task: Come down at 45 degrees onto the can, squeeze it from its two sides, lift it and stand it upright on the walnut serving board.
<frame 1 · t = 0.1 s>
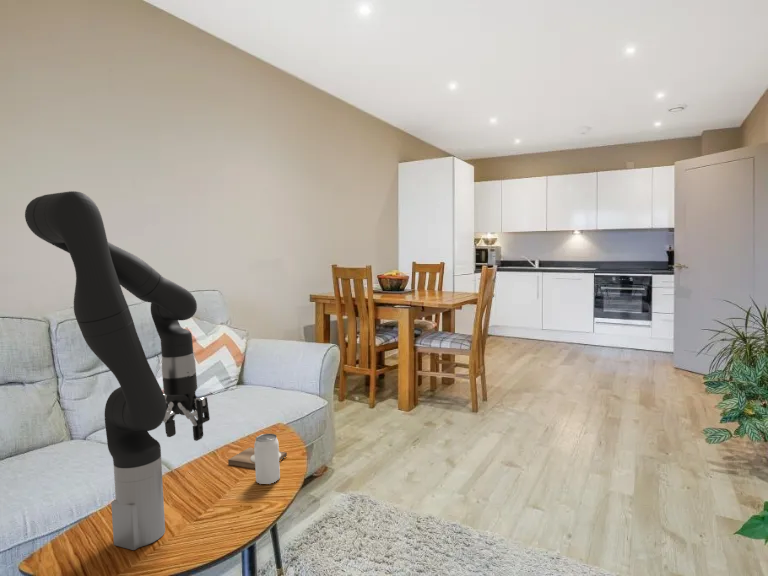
hand: (184, 437, 114), 17 cm above the table, tool pointing down, fingers open, 8 cm apart
board: (258, 460, 142), on the table
can: (268, 480, 128), on the table
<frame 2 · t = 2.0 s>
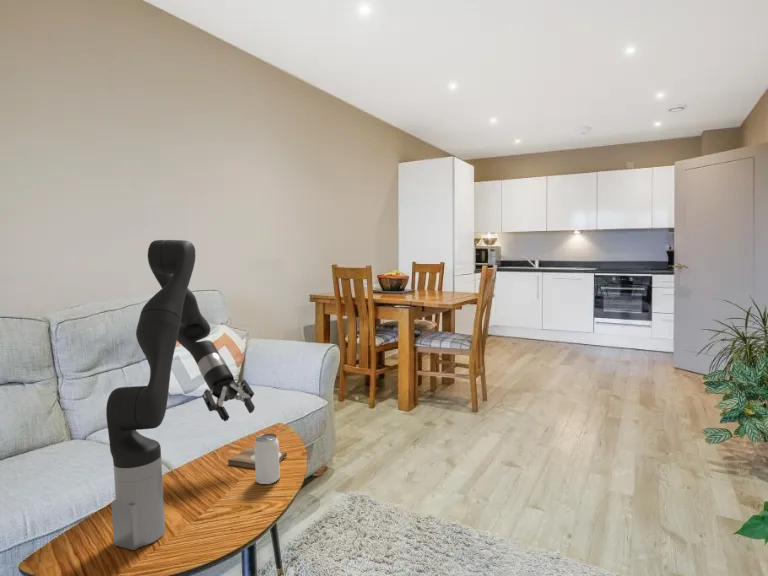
hand: (240, 415, 135), 16 cm above the table, tool tilted 45°, fingers open, 8 cm apart
nothing on the table moved.
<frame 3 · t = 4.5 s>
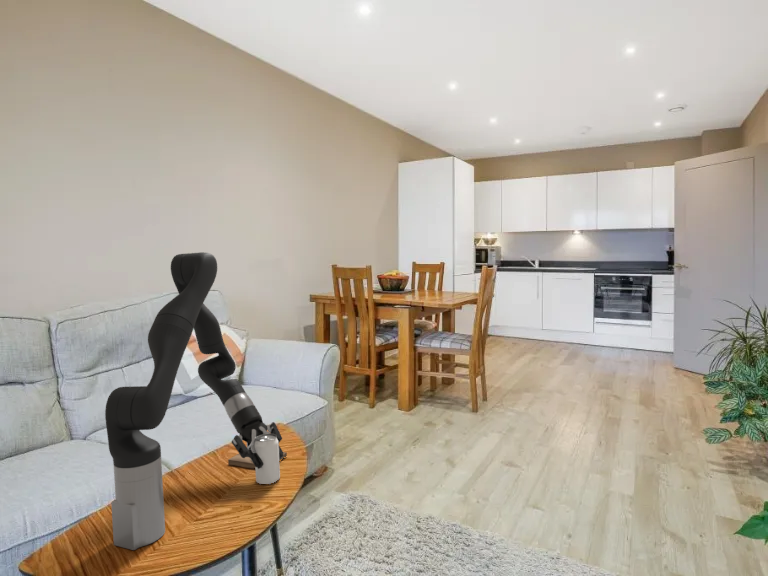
hand: (271, 462, 127), 5 cm above the table, tool tilted 45°, fingers closed on can, 6 cm apart
can: (268, 480, 128), on the table, touching gripper
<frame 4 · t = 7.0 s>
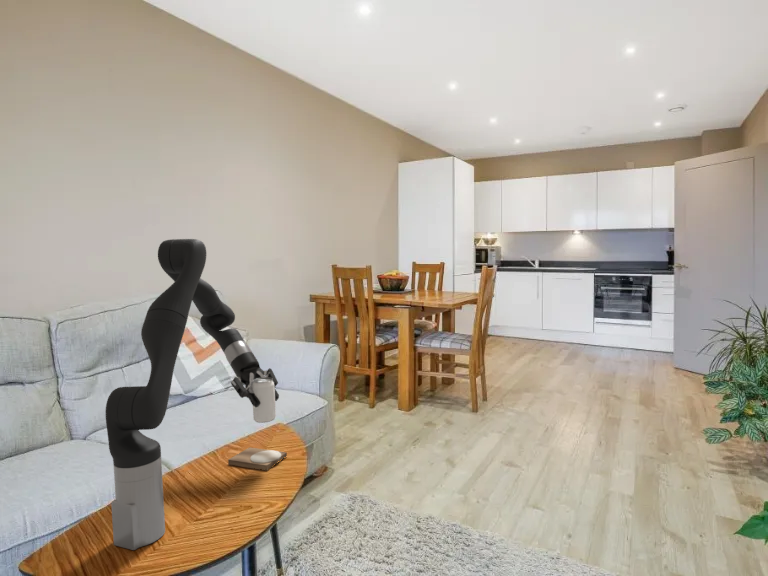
hand: (267, 402, 138), 19 cm above the table, tool tilted 45°, fingers closed on can, 6 cm apart
can: (264, 419, 139), point 13 cm above the table, touching gripper
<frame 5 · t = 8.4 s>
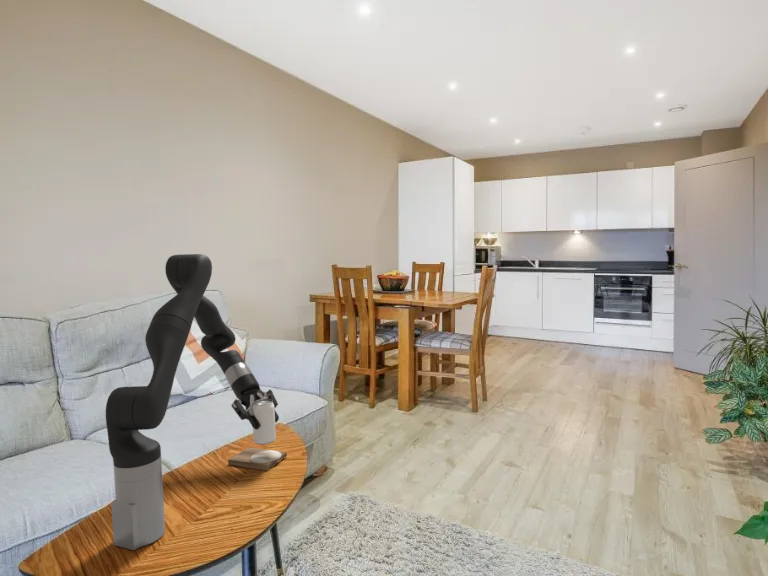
hand: (267, 424, 139), 12 cm above the table, tool tilted 45°, fingers closed on can, 6 cm apart
can: (264, 441, 141), point 6 cm above the table, touching gripper
when the fingers open (8 cm above the table, at t = 9.8 s): can stays where it is, resting on board.
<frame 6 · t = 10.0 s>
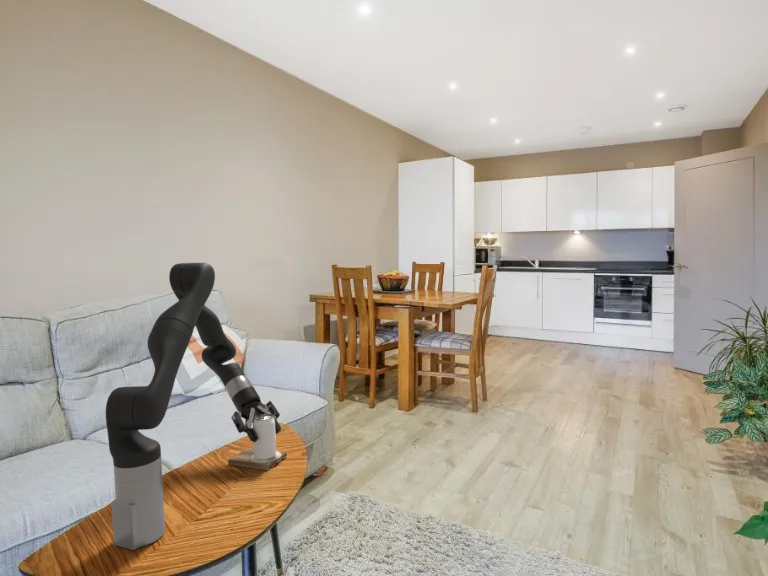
hand: (267, 436, 140), 8 cm above the table, tool tilted 45°, fingers open, 8 cm apart
can: (265, 456, 141), point 2 cm above the table, touching board
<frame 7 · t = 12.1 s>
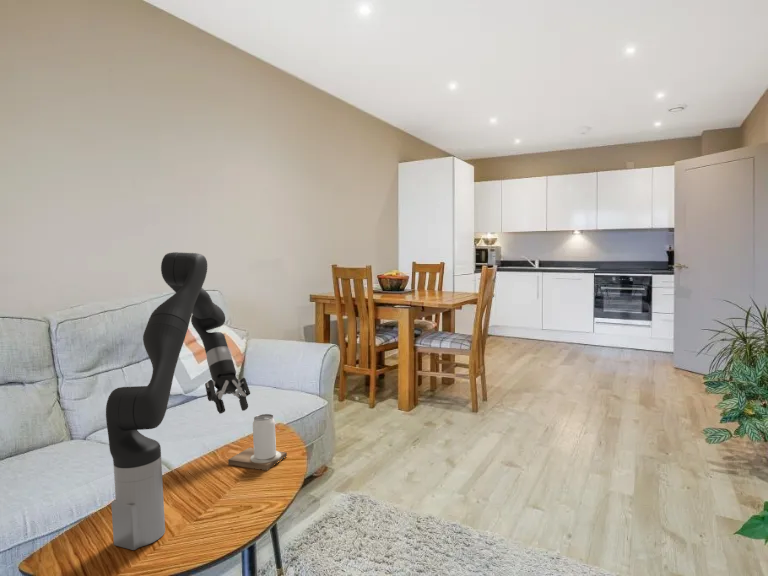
hand: (234, 411, 144), 15 cm above the table, tool tilted 35°, fingers open, 8 cm apart
nothing on the table moved.
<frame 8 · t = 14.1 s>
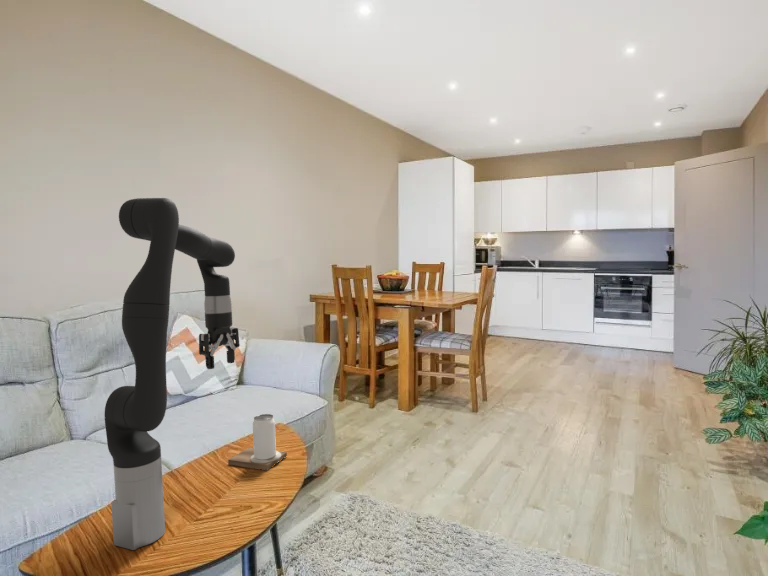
hand: (221, 365, 138), 30 cm above the table, tool pointing down, fingers open, 8 cm apart
nothing on the table moved.
at the end: can inside the target area on the board (0.1 cm from its centre), point 1.6 cm above the board's base; can tilted 0°; the gripper is holding nothing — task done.
